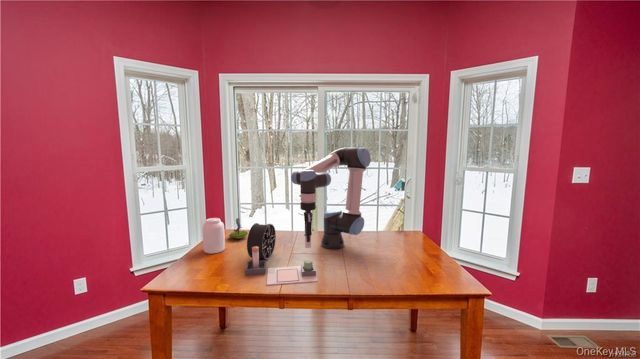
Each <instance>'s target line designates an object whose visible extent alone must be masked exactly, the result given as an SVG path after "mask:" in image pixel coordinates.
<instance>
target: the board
mask: <svg viewBox="0 0 640 359" xmlns="http://www.w3.org/2000/svg"><path fill="white" fill-rule="evenodd" d="M301 266H302V265H296V266H294V265H293V266H281V267H280V266H278V267H267V275H266V276H267V277H266V278H267V280H266V286H276V285H290V284H291V285H292V284H304V283H316V282H318V278H317V275H316V276H305V277H302V274H301Z"/></svg>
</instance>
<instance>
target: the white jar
mask: <svg viewBox="0 0 640 359" xmlns="http://www.w3.org/2000/svg"><path fill="white" fill-rule="evenodd" d="M202 244H203V246H202V248H203V252H204V253H205V254H211V255H213V254H218V253H221V252H223V251H225V249H226V240H225V224H224V222H223V221H221V218H219V217H210V218H207V219H205V223H203V225H202Z"/></svg>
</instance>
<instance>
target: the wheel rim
mask: <svg viewBox="0 0 640 359" xmlns="http://www.w3.org/2000/svg"><path fill="white" fill-rule="evenodd" d="M276 234H277V233H276V228H275V226H274V224H272V223H267V224H260V223H257V222H256V223H253V225H252V226H251V227H250V229H249V231H248V234H247V241H246V250H247V255H248V256H249V257H250V258H252V259H253V257H252V247H254V246H258V247H259V258H262V259H263V260H269V259H270V258H271V257H272V255H273V253H274V251H275V246H276V242H277V241H276V238H277V236H276Z"/></svg>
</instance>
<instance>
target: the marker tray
mask: <svg viewBox="0 0 640 359" xmlns="http://www.w3.org/2000/svg"><path fill="white" fill-rule="evenodd" d="M244 271H245V274H244V276H256V275H266V273H267V259H264V260H259V268H257V269H253V260H252V261H251V260H250V261H247V262H246V266H245V270H244Z"/></svg>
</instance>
